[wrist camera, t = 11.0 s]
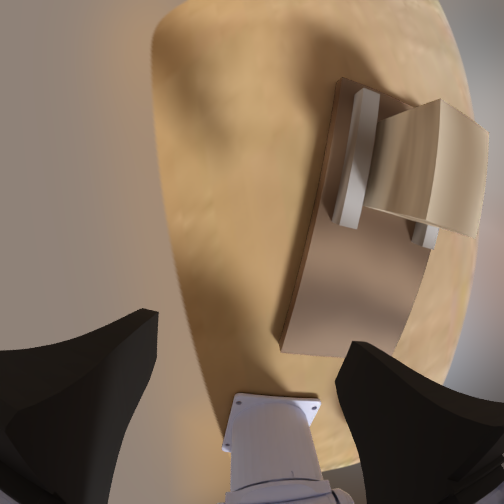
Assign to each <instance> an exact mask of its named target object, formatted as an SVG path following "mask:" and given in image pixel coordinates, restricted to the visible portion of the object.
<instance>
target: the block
mask: <svg viewBox="0 0 504 504" xmlns="http://www.w3.org/2000/svg"><path fill="white" fill-rule="evenodd" d="M488 147H489V132H488V131H486V130H485V129H484V128H482V127H481V126H480V125H479V124H477V123H476V122H475V121H473V120H472V119H470V118H469V117H468V116H466V115H465V114H463V113H462V112H461V111H459V110H458V109H456V108H455V107H453V106H452V105H450V104H448V103H447V102H445V101H444V100H442V99H438V100H435V101H432V102H429V103H426V104H424V105H421V106H418V107H415V108H413V109H410V110H407V111H405V112H402V113H399V114H397V115H394V116H392V117H389V118H387V119H384V120H382V121H379V122H377V129H376V137H375V143H374V150H373V156H372V162H371V167H370V173H369V178H368V183H367V188H366V193H365V198H364V203H363V206H366V207H369V208H373V209H376V210H379V211H383V212H386V213H389V214H392V215H396V216H399V217H402V218H405V219H408V220H412V221H416V222H419V223H423V224H427V225H430V226H434V227H437V228H441V229H444V230H447V231H451V232H454V233H457V234H461V235H464V236H467V237H470V238H473V239H476V235H477V231H478V226H479V221H480V216H481V210H482V204H483V198H484V191H485V183H486V175H487V163H488Z"/></svg>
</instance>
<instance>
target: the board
mask: <svg viewBox="0 0 504 504" xmlns="http://www.w3.org/2000/svg"><path fill="white" fill-rule="evenodd" d="M413 108H414V107H412V106H410V105H408V104H406V103H404V102H402V101H400V100H398V99H396V98H393V97H391V96H389V95H387V94H384V93H382V92H380V91H377V90H375V89H373V88H370V87H368V86H365V85H362V84H360V83H357V82H354V81H352V80H349V79H346V78H343V77H342V78H341V79H340V80H339V81H338V82H337V83H336V90H335V97H334V103H333V109H332V115H331V121H330V127H329V133H328V138H327V144H326V149H325V155H324V160H323V165H322V170H321V175H320V180H319V185H318V190H317V195H316V199H315V204H314V208H313V213H312V217H311V222H310V226H309V231H308V235H307V239H306V243H305V248H304V252H303V256H302V260H301V264H300V268H299V272H298V276H297V280H296V284H295V287H294V291H293V295H292V299H291V303H290V306H289V310H288V314H287V317H286V321H285V324H284V328H283V331H282V335H281V338H280V342H279V347H280V351H281V353H290V354H300V355H311V356H324V357H340V358H345V357H346V355H347V352H348V350H349V348H350V345H351V343H352V341H364V342H368V343H370V344H372V345H374V346H375V347H377V348H379V349H380V350H382V351H384V352H385V353H387V354H388V355H390V356H392V354H393V352H394V350H395V348H396V346H397V343H398V341H399V339H400V337H401V334H402V332H403V330H404V327H405V325H406V322H407V320H408V317H409V315H410V312H411V310H412V307H413V304H414V302H415V299H416V296H417V293H418V290H419V287H420V284H421V281H422V278H423V275H424V272H425V269H426V265H427V262H428V259H429V255H430V251H431V249H433V250H434V247H435V243H436V239H437V235H438V231H439V228H437V227H434V226H430V225H427V224H423V223H419V222H416V221H412V220H408V219H405V218H402V217H399V216H396V215H392V214H389V213H386V212H383V211H379V210H376V209H373V208H369V207H366V206H363V203H364V198H365V193H366V188H367V183H368V178H369V173H370V167H371V162H372V156H373V150H374V143H375V137H376V129H377V122H379V121H382V120H384V119H387V118H389V117H392V116H394V115H397V114H399V113H402V112H405V111H407V110H410V109H413Z"/></svg>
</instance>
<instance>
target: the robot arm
mask: <svg viewBox="0 0 504 504" xmlns="http://www.w3.org/2000/svg"><path fill="white" fill-rule="evenodd" d="M158 314H159V312H157V311H152V310H147V309H143V308H142V309H139V310H137V311H135V312H133V313H131V314H129V315H127V316H125V317H123V318H121V319H119V320H117V321H115V322H112V323H110V324H108V325H106V326H104V327H101V328H99V329H97V330H94V331H92V332H89V333H87V334H85V335H82V336H79V337H77V338H74V339H70V340H67V341H63V342H60V343H56V344H52V345H46V346H41V347H35V348H29V349H21V350H6V351H0V504H108V498H109V492H110V488H111V483H112V478H113V474H114V470H115V466H116V462H117V458H118V454H119V451H120V447H121V444H122V440H123V438H124V434H125V432H126V429H127V427H128V424H129V422H130V420H131V418H132V416H133V413H134V411H135V409H136V407H137V405H138V403H139V401H140V399H141V396H142V394H143V392H144V390H145V388H146V386H147V384H148V382H149V380H150V377H151V374H152V371H153V368H154V365H155V362H156V358H157V333H158V332H157V331H158ZM335 385H336V390H337V395H338V399H339V403H340V406H341V408H342V411H343V413H344V416H345V419H346V421H347V424H348V426H349V429H350V431H351V434H352V437H353V439H354V442H355V444H356V447H357V450H358V454H359V458H360V462H361V467H362V471H363V477H364V483H365V489H366V499H367V504H504V469H503V467H502V466H501V464H502V463H503V462H504V457H503V456H502V454H503V453H504V403H501V402H494V401H489V400H484V399H479V398H475V397H472V396H469V395H465V394H462V393H459V392H457V391H454V390H451V389H449V388H447V387H444V386H442V385H440V384H438V383H436V382H434V381H432V380H430V379H428V378H426V377H424V376H423V375H421V374H419V373H417V372H416V371H414V370H412V369H411V368H409V367H407V366H406V365H404V364H403V363H401V362H399V361H398V360H396V359H395V358H393V357H392V356H390V355H388V354H387V353H385V352H384V351H382V350H380V349H379V348H377V347H375V346H374V345H372V344H370V343H368V342H364V341H352V343H351V345H350V348H349V350H348V352H347V355H346V357H345V360H344V362H343V364H342V366H341V369H340V371H339V373H338V375H337V378H336V380H335ZM237 401H241V402H237ZM320 405H321V401H320V399H315V398H291V397H276V396H264V395H254V394H246V393H237V394H235V396H234V399H233V404H232V408H231V412H230V416H229V420H228V424H227V428H226V432H225V436H224V440H223V444H222V450H223V451H225V452H231V492H226V499H225V503H217V504H354V501H353V499H352V498H351V496H350V495H349V494H348V493H346V492H344V491H343V490H342V489H340V488H336V489H332V490H331V488H330V484H329V480H323V477H322V473H321V469H320V465H319V461H318V458H317V454H316V450H315V446H314V443H313V439H312V435H311V431H310V427H309V426H310V425H311V423H312V421H313V419H314V417H315V415H316V413H317V411H318V409H319V407H320ZM314 406H315V407H314Z"/></svg>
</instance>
